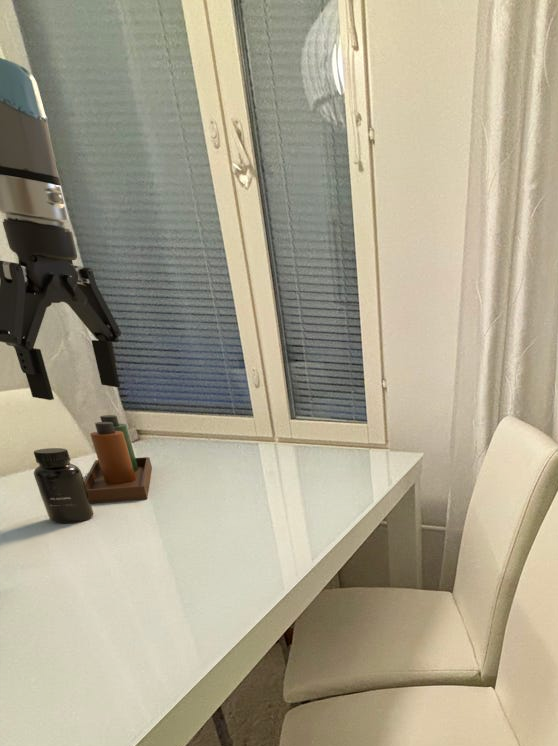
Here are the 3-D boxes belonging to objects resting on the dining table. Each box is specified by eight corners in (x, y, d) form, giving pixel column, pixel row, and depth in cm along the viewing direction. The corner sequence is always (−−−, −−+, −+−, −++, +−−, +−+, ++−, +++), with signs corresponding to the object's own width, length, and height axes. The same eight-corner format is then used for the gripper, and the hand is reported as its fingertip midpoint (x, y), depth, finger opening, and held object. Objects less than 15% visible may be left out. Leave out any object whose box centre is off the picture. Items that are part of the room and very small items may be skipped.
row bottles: (103, 484, 118) (85, 425, 112) (110, 468, 130) (94, 414, 124) (135, 482, 120) (119, 424, 114) (139, 466, 133) (124, 413, 127)
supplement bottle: (61, 526, 96) (35, 456, 90) (43, 519, 99) (17, 450, 93) (102, 517, 101) (80, 450, 95) (84, 510, 104) (61, 444, 98)
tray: (82, 504, 107) (78, 491, 106) (98, 471, 130) (95, 460, 129) (147, 499, 112) (143, 486, 110) (152, 467, 134) (149, 457, 133)
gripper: (-24, 212, 62) (34, 409, 74) (127, 234, 83) (154, 384, 95) (-84, 203, 63) (-17, 400, 74) (81, 227, 84) (114, 377, 95)
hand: (79, 391), depth 85 cm, fingers open, 13 cm apart
